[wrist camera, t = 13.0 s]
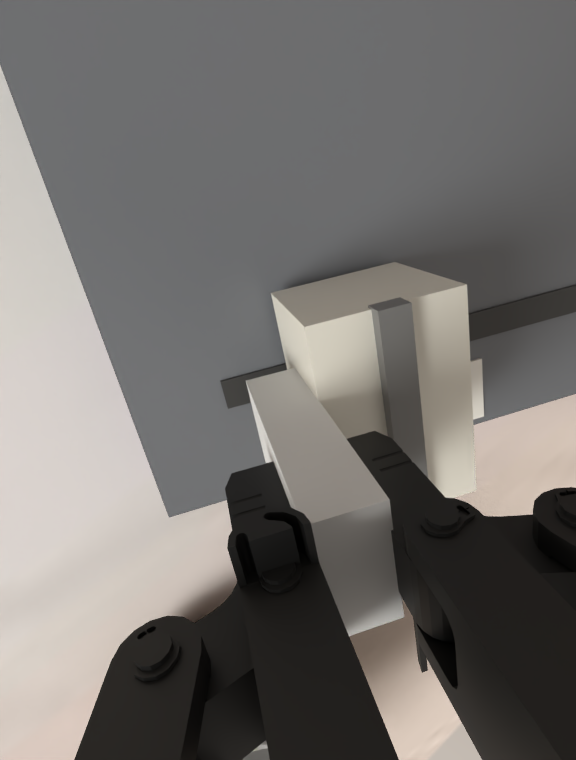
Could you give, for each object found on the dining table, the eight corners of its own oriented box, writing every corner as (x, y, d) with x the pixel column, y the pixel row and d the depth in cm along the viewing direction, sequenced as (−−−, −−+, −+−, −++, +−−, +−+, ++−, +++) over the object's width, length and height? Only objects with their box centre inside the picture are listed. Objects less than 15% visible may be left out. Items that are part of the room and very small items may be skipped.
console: (-113, -323, 11) (-213, -503, 8) (762, -383, 14) (910, -528, 11) (169, 472, 20) (169, 519, 17) (669, 326, 23) (739, 345, 20)
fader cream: (270, 291, 14) (308, 329, 10) (394, 260, 15) (477, 285, 11) (306, 460, 17) (348, 544, 13) (412, 428, 17) (484, 500, 13)
